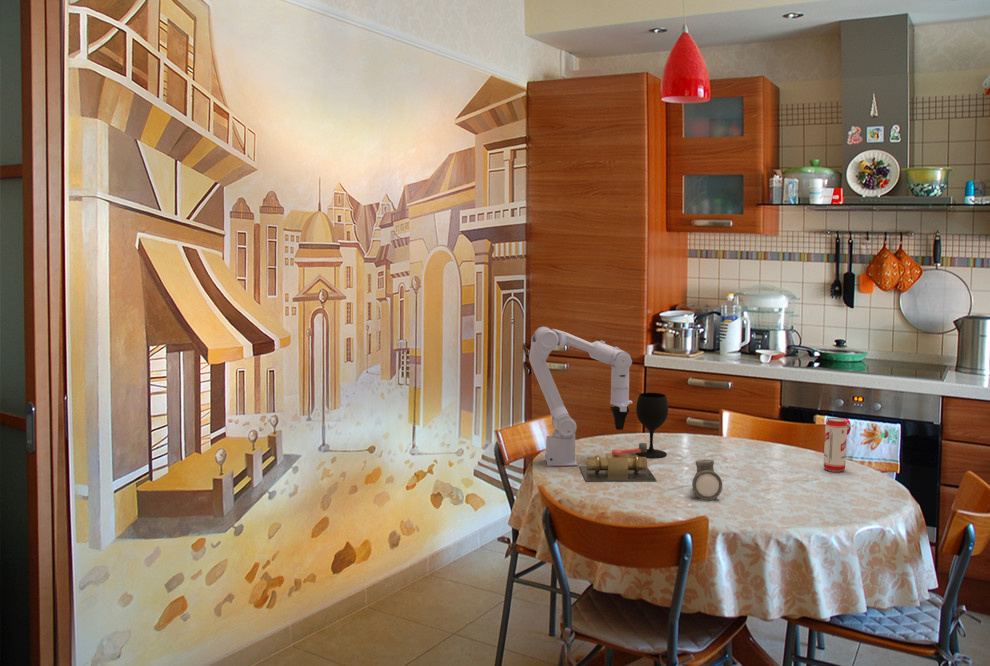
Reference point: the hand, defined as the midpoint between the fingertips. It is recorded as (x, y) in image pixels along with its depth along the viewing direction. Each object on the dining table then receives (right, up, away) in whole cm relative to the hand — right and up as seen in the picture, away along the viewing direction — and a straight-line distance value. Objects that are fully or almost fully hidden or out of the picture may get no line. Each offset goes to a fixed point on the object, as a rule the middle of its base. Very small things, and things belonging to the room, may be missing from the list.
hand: (619, 429), depth 274 cm
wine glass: (+12, -10, +9) cm, 18 cm away
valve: (-3, -12, -13) cm, 18 cm away
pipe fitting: (+20, -15, -33) cm, 41 cm away
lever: (+1, -6, -12) cm, 13 cm away
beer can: (+65, -12, -10) cm, 67 cm away
